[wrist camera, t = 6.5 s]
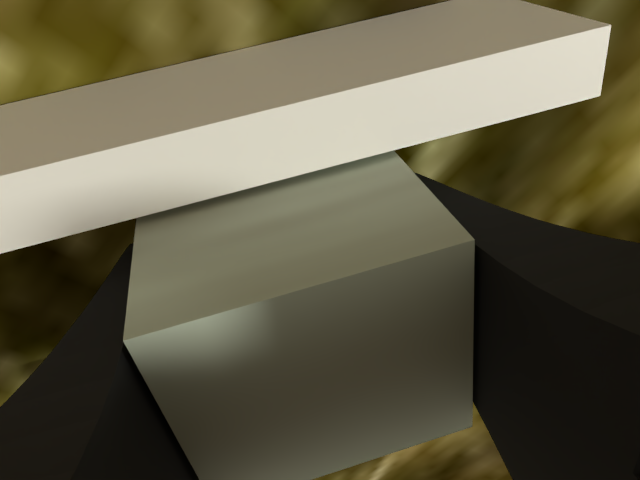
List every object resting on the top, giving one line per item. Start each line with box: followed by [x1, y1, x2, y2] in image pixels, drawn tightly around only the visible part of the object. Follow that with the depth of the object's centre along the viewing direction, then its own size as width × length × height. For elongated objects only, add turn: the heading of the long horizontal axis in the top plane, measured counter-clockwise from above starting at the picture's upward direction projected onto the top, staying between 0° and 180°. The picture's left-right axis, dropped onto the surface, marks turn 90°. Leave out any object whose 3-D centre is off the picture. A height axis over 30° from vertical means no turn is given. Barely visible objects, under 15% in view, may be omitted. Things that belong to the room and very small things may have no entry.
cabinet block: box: [123, 150, 475, 480], centre depth 10 cm, size 4×4×6 cm
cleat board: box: [0, 0, 611, 254], centre depth 12 cm, size 8×12×4 cm, turn 100°
